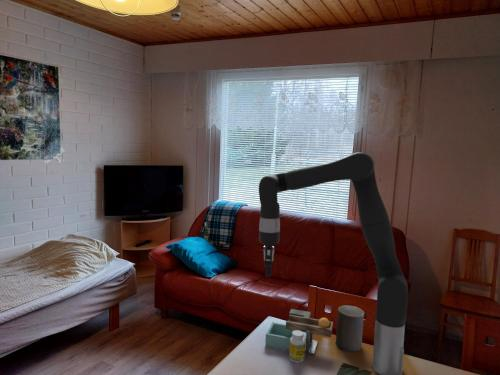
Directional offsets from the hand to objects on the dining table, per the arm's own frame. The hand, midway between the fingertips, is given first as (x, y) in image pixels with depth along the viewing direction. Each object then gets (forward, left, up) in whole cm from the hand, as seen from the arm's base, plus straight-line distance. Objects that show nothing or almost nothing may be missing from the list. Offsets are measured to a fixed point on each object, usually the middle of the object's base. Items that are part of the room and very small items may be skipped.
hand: (268, 272), depth 136 cm
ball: (-21, -3, -17) cm, 27 cm away
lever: (-15, -7, -20) cm, 26 cm away
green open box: (-6, -3, -28) cm, 28 cm away
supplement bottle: (-13, +6, -28) cm, 31 cm away
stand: (-16, -3, -28) cm, 32 cm away
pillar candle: (-30, -11, -28) cm, 42 cm away
